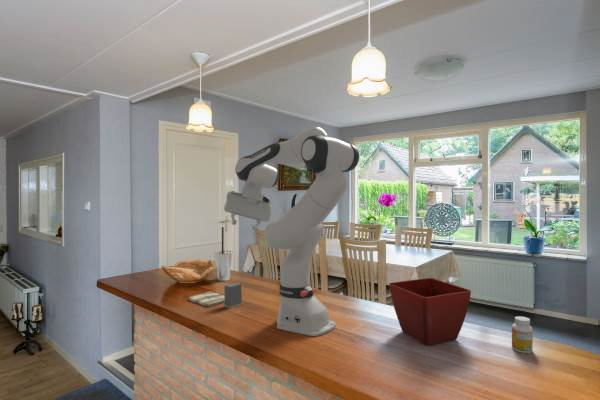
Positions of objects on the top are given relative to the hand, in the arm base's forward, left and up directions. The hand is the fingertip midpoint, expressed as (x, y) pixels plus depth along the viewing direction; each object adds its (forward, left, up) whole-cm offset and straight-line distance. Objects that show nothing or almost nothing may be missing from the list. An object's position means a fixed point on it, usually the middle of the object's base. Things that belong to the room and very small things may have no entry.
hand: (244, 227), depth 151 cm
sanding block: (+4, +3, -34) cm, 34 cm away
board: (+18, +5, -34) cm, 39 cm away
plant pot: (-72, -19, -34) cm, 82 cm away
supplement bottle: (-98, -27, -34) cm, 107 cm away
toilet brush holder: (+43, -22, -34) cm, 59 cm away
